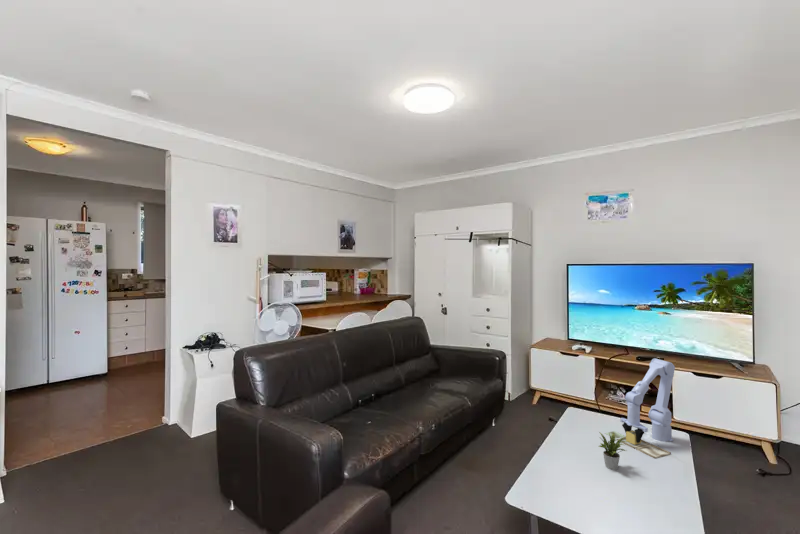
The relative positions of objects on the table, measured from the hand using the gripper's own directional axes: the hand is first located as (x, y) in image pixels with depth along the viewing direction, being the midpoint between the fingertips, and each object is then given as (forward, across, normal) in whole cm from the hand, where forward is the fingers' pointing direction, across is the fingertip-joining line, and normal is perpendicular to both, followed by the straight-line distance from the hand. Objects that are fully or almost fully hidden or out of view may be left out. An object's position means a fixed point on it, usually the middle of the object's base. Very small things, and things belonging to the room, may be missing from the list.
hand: (633, 439), depth 210 cm
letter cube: (+1, 0, 0) cm, 1 cm away
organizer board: (+2, +1, 0) cm, 2 cm away
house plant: (+2, +14, -32) cm, 35 cm away
